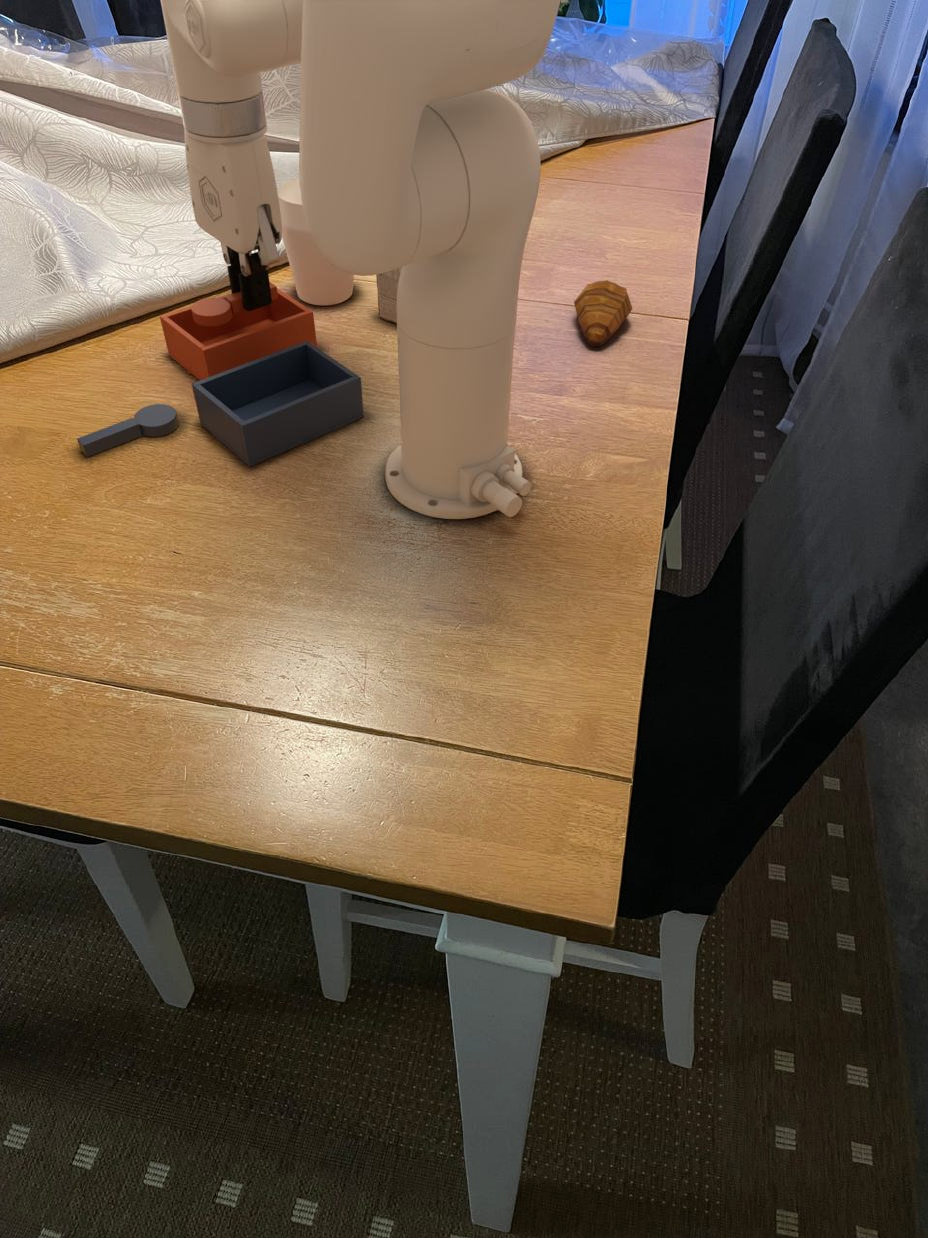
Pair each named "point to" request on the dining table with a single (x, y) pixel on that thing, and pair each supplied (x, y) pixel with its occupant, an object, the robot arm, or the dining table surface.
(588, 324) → the croissant
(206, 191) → the robot arm
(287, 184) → the cup
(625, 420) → the dining table surface
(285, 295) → the terracotta bin
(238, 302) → the terracotta spoon
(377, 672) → the dining table surface
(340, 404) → the blue bin
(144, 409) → the blue spoon
